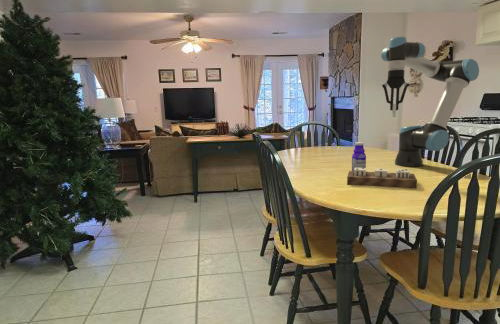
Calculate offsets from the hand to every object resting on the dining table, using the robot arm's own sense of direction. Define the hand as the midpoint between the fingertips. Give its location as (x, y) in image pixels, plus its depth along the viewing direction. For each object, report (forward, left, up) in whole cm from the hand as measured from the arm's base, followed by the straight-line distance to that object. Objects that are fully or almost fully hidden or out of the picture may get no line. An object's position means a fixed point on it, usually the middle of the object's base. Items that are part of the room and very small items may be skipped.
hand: (393, 116), depth 170 cm
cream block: (+19, +11, -30) cm, 37 cm away
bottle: (+15, -8, -31) cm, 35 cm away
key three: (+12, +18, -30) cm, 37 cm away
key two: (+26, +4, -30) cm, 40 cm away
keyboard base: (+19, +11, -30) cm, 38 cm away
